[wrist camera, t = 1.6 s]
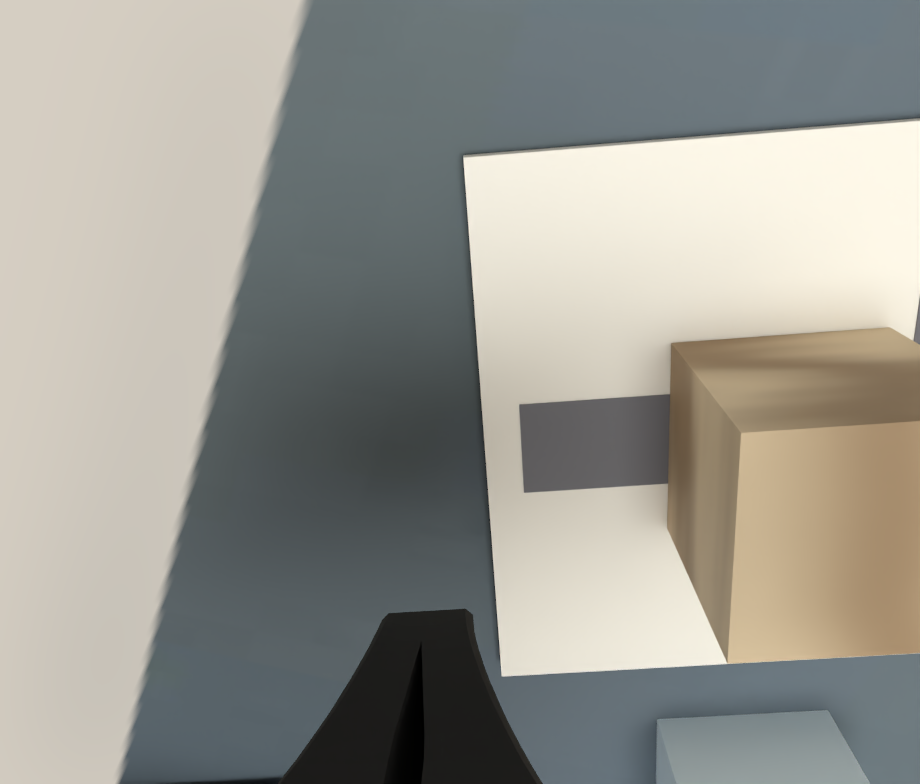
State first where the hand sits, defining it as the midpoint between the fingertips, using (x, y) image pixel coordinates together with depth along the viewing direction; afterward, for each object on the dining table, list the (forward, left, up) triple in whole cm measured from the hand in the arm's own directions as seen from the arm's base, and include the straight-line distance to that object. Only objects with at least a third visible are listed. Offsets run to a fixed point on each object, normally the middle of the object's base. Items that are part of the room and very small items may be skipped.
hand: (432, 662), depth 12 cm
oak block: (+8, 0, -7) cm, 11 cm away
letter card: (+8, 0, -8) cm, 11 cm away
